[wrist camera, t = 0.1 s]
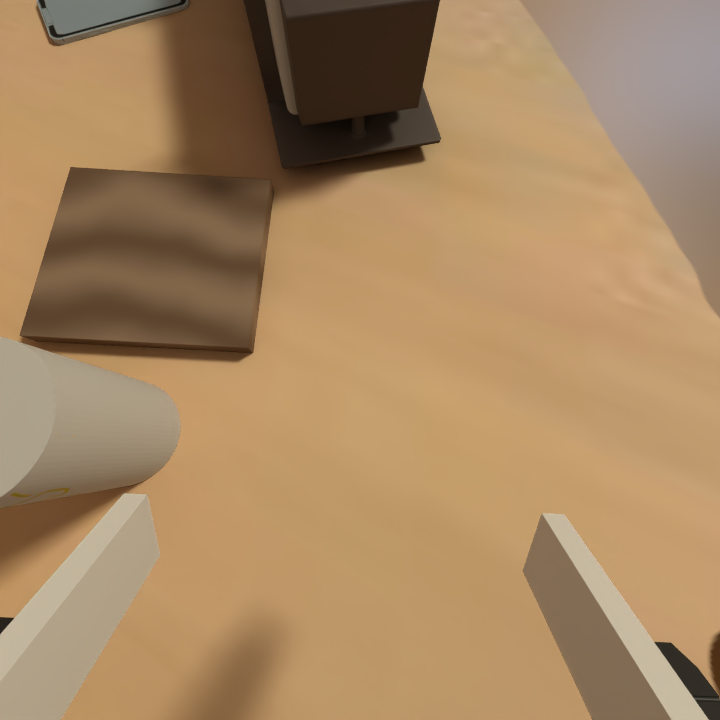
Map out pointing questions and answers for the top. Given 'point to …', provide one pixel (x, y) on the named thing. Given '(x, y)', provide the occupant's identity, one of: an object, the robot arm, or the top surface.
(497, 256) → the top surface
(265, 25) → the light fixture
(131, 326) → the walnut board
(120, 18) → the smartphone
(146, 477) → the beige cylinder
